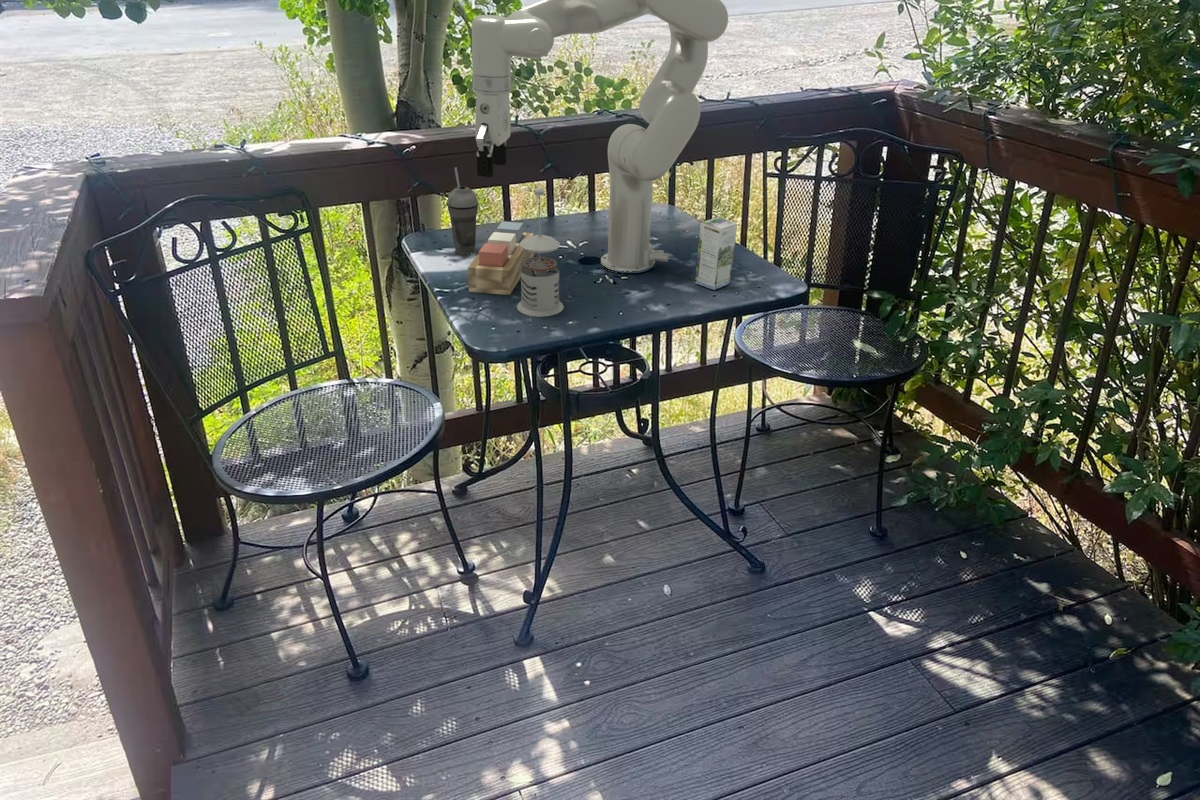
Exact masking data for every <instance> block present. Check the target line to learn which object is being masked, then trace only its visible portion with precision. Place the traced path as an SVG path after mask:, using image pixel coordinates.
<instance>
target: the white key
mask: <svg viewBox="0 0 1200 800" xmlns="http://www.w3.org/2000/svg"><path fill="white" fill-rule="evenodd" d="M487 242H488V244H498V245H508V255H512V254H513V252H514V251H515V249H516V234H513V233H500V232H495V231H493V233H492V234H491V235H490V236H489V238H488V239H487Z"/></svg>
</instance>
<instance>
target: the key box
mask: <svg viewBox="0 0 1200 800" xmlns="http://www.w3.org/2000/svg"><path fill="white" fill-rule="evenodd" d="M494 232H497V229H496V230H495V231H494ZM533 235H535V232H524V231H523V236H524V237H523V239H522V240H524V239H526V238H528V237H530V236H533ZM522 240H521V241H522ZM486 244H488V241H486ZM531 257H532V252H529V251H526V259H527V258H531ZM524 260H525V250H524V249H523V248H522V247H521V246H520V244H519V243H516V249H515V251H514V252H513V254H512V255H508V261H507V263H506V264H505V266H504V267H493V266H481V265H479V252H478V254H477V255H476V256H475V257H474V259H473V260H472V261H471V263H470V264H469V265H468V267H467V279H468V292H470V293H481V294H482V293H483V294H490V295H491V294H493V295H494V294H495V295H505V296H510V295H511V294H512V292H513V291H514V289H515V288H516V286H517V284H518V283H519V281H520V280H521V269H522V267H523V264H522V262H523V261H524Z"/></svg>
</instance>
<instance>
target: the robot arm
mask: <svg viewBox="0 0 1200 800" xmlns="http://www.w3.org/2000/svg"><path fill="white" fill-rule="evenodd" d="M647 15H649V16H653V17H657V18H658V19H660V20H661V21H664V22H665V23H667V24H668V28H669V31H670V32H669V33H670V44H669V50H668V52H667V55H666V57H665V58H664V61H663V62H662V63H661V65H660V67H659V69H658V70H657V72H656V74H655V75H654V76H653V78H652V80H651V81H650V83H649V85H648V86H647V88H646V90H645V91H644V92H643V93H642V96H641V97H640V100H639V104H638V109H639V114H640V116H641V118H642V119H643V120H644V121H645V122H646V123H647V124H649V125H648V126H647V128H644V127H643V126H641V125H638V124H634V123H626V124H623V125H620V126H619V127H617V128H616V129H615V130H614V131H613V132H612V134H611V135H610V137H609V140H608V145H607V161H608V171H609V204H608V205H609V207H608V232H607V233H608V237H607V238H608V239H607V243H608V244H607V253H605V254H604V255H602V256H601V257H600V264H602V265H603V266H605V267H606V268H608V269H611V270H615V271H624V272H626V271H629V272H632V271H641V270H644V269H647V268H649V267H651V266H653V264H654V263H655V264H656V262H662V263H663V262H664V263H667V262H668V261H669V259H668V258H669V253H665V251H664V250H661V249H659V250H656V249H654V248H653V247H652V246H653V245H652V243H650V240H651V238H650V237H651V221H652V219H651V218H652V201H653V182H654V181H658V180H659V179H661V178H662V177H664V176H665V175H666V174H667V173H668V172H669V170H670V169H671V168H672V166H673V164H675V162H676V161H677V158H679V155H680V154H682V153H681V152H682V151H683V150H684V148H685V147H686V145H687V143H688V142H689V141H690V139H691V137H692V136H693V134H694V133H695V130H696V129H697V127H698V125H699V121H700V118H701V105H700V101H699V99H698V97H697V96H696V95H695V94H694V93H693V92H694V90H695V88H696V86H697V84H698V82H699V81H700V79H701V78H702V76H703V74H704V72H705V70H706V66H707V62H708V57H709V55H708V54H709V43H711V42H714V41H716V40H718V39H719V38H720V37H722V36H723V35H724V33H725V32H726V29H727V28H728V24H729V13H728V10H727V7H726V6H725V3H723V1H722V0H541V1H538V2H535V3H532V4H530V5H527V6H524V7H522V8H520V9H518V10H515V11H512V13H510V14H509V15H508V16H507V17H505V16H503V15H498V14H497V15H496V14H481V15H476V16H474V18H473V19H472V21H471V60H472V61H471V64H472V65H471V67H472V68H471V70H472V92H473V93H476V94H475V96H476V98H475V114H474V115H475V116H474V118H475V119H474V120H475V121H474V122H475V123H474V125H475V141H476V145H477V146H476V175H477V176H478V177H484V178H492V177H493V176H494V165H497V166H506V165H507V146H506V145H507V140H508V139H509V138H510V137H511V132H512V131H511V128H512V127H511V107H510V106H511V105H510V104H511V103H510V94H511V93H512V92H511V91H512V84H511V83H512V57H517V58H524V59H531V60H536V59H541V58H543V57H545V56H546V55H548V54H549V53H550V52H551V50H552V49H553V46H554V42H555V38H559V37H562V36H568V35H576V34H577V35H579V34H581V35H583V34H585V35H591V34H597V33H602V32H603V33H604V32H606V31H608V30H610V29H613V28H616V27H617V26H620V25H623V24H625V23H628V22H629V21H630V22H631V21H633V20H636V19H638V18H640V17H643V16H647ZM602 265H601V266H602ZM603 266H602V267H603Z"/></svg>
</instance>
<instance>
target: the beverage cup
mask: <svg viewBox="0 0 1200 800" xmlns="http://www.w3.org/2000/svg"><path fill="white" fill-rule="evenodd" d="M454 172H455V173H454V174H455V179H456V185H457V187H454V188H452V190H451V191H450V192H449V195H448V196H447V204H446V206H447V210H448V214H449V218H450V224H451V232H452V237H453V238H452V239H453V244H454V245H453V246H454V249H455V253H456V254H457V253H458V254H457V255H460V254H462V255H461V256H467V255H466V254H470V255H472V254H471V253H473V254H475V252H476V240H477V239H476V237H477V214H478V210H479V209H478V208H479V207H478V206H479V202H478V197H477V195H476V193H475V191H473V190H472V189H471V188H470V187H467V186H464V185H462V186H461V185H460V180H459V173H458V168H457V167H454Z"/></svg>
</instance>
